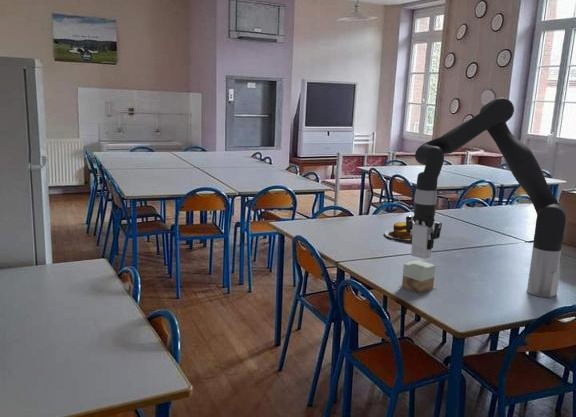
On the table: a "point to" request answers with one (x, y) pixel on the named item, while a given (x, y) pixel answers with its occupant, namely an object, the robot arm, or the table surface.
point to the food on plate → (398, 232)
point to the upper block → (419, 270)
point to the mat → (417, 292)
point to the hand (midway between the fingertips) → (421, 247)
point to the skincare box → (420, 241)
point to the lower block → (417, 284)
